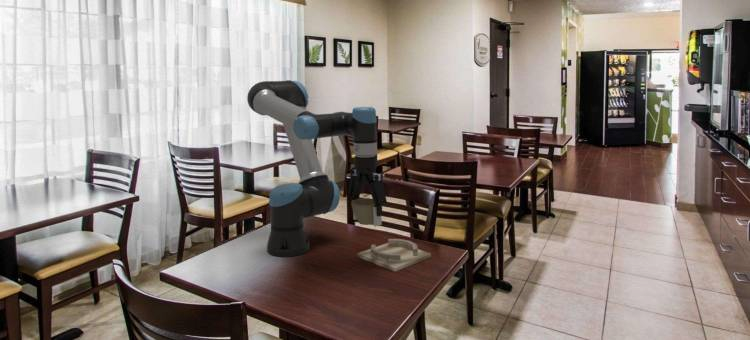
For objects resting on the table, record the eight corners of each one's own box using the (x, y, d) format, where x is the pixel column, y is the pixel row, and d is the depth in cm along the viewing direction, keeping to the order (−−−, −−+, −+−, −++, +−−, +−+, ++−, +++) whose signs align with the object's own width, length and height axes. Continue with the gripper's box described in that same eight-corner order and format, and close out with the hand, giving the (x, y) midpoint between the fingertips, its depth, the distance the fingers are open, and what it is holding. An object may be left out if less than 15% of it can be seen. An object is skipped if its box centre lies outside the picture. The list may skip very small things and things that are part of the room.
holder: (357, 256, 172) (357, 246, 171) (393, 243, 184) (393, 234, 183) (394, 271, 159) (394, 260, 158) (431, 256, 171) (431, 246, 170)
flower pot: (378, 228, 157) (377, 206, 156) (348, 226, 160) (347, 204, 158) (385, 219, 167) (384, 198, 165) (356, 217, 169) (356, 197, 168)
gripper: (335, 153, 165) (337, 217, 169) (379, 160, 148) (381, 231, 152) (353, 150, 170) (355, 213, 174) (397, 157, 153) (398, 226, 157)
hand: (367, 222), depth 163 cm, fingers closed on flower pot, 10 cm apart
